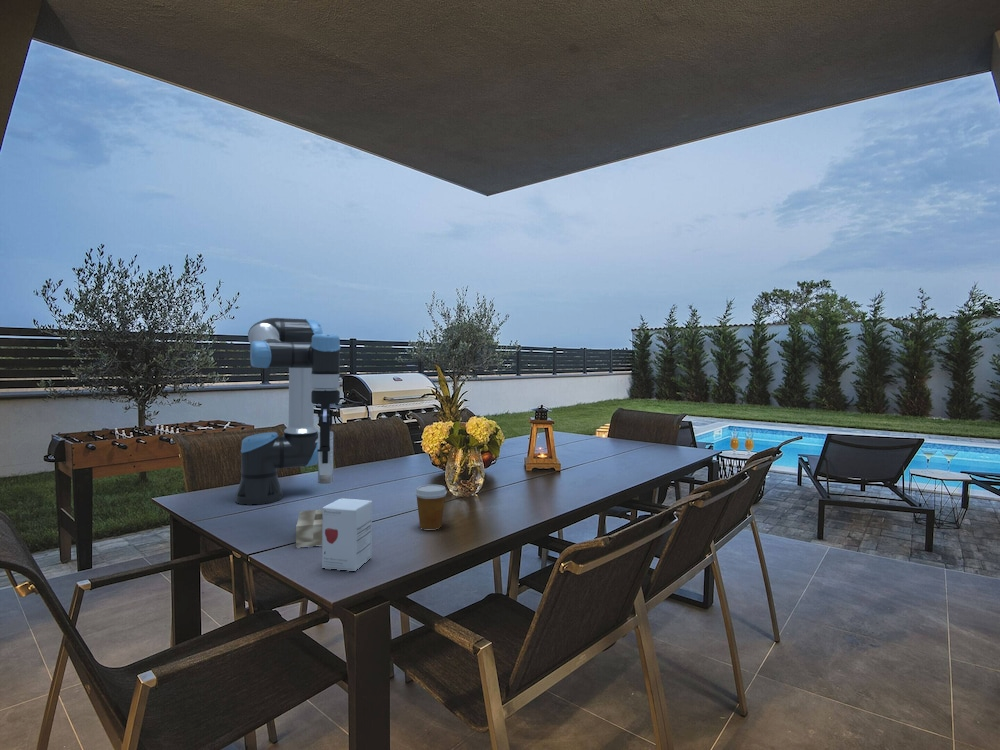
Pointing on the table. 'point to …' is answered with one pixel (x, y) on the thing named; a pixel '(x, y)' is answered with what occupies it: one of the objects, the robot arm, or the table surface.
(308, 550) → the table surface
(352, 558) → the supplement box
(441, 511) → the disposable coffee cup
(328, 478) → the peg
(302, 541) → the bore block
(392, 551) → the table surface
